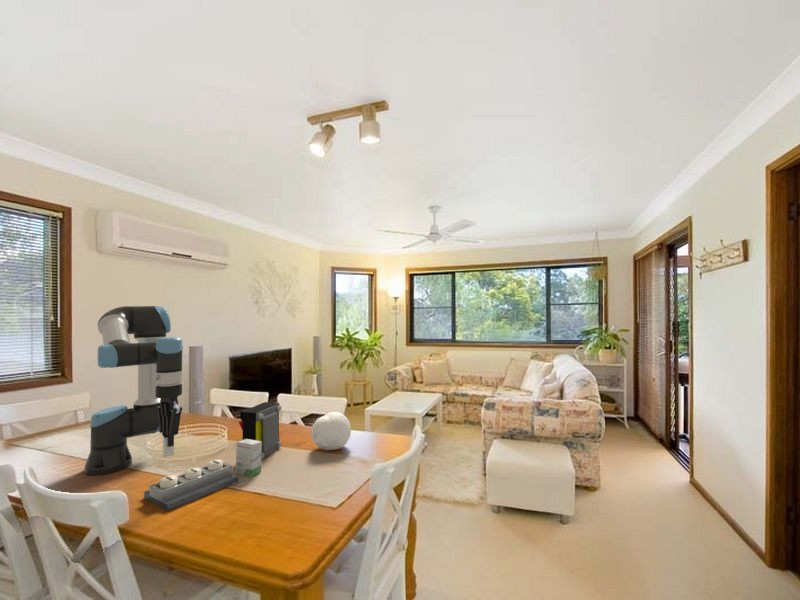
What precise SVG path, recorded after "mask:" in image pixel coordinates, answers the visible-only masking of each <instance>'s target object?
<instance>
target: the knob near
mask: <svg viewBox="0 0 800 600" xmlns="http://www.w3.org/2000/svg"><path fill="white" fill-rule="evenodd" d="M177 476H178V475H173V474H171V475H167V476H164V477H162V478H160V479H159V482H160V489H162V490H165V489H167V488H170V487H173V486H175V485H177V482H178V477H177Z"/></svg>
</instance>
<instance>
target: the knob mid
mask: <svg viewBox="0 0 800 600" xmlns="http://www.w3.org/2000/svg"><path fill="white" fill-rule="evenodd" d="M184 473H185V479H187V480H191V479H194V478H197V477H200V476H201V467H192V468H189V469H186V470H185V472H184Z"/></svg>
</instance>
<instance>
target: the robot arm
mask: <svg viewBox="0 0 800 600" xmlns="http://www.w3.org/2000/svg"><path fill="white" fill-rule="evenodd" d="M97 321H98V322H97V329H98V332H99V333H100V334H101V336H102V343H103V344H101V345H99V346H98V347H97V366H98V368H100V369H104V368H108V369H109V368H111V369H112V368H121V367H123V368H124V367H132V366H137V399H136V400H135V401H134V402H133V407H131V408H128V406H127V405H126V404H125V405H124V404H123V405H116V406H111V407H107V408H103V409H100V410H98V411H96V412H94V413H93V414H92V415H91V417H90V425H89V428H90V450H89V455H88V457H87V459H86V461H85V464H84V470H83V471H84V474H85V475H87V476H100V475H106V474H111V473H114V472H118V471H121V470H124V469H126V468H128V467H130V466H131V465H132V463H133V457H132V454H131V452H130V449H129V446H128V441H127V440H128V438H134V437H140V436H145V435H150V434H156V433H160V434H161V435H162V436H163V437H162V438H163V439H162V446H163V447H162V457H164V458H167V457H171V456H174V455H175V436H176V435H179V429H180V422H181V414H182V411H183V406H179V400H178V397H179V396H182V394H183V384H182V382H183V348H184V347H183V339H182V338H181V337H176V336H172V337H171V336H170V337H167V334H168V333H171V330H172V329H171V326H172V324H171V317H170V314H169V310H168V309H167V308H166V306H161V305H160V306H159V305H157V306H156V305H153V306H152V305H150V306H149V305H145V306H144V305H143V306H141V305H140V306H139V305H135V306H133V305H132V306H130V305H128V306H126V305H125V306H123V305H122V306H119V307H115V308H112V309H109V310H108V311H106V312H105V313H103V315H101V316H100V318H99V320H97ZM129 335H133V339H135V340H136V341H137V342H132V343H131V340H130V336H129Z"/></svg>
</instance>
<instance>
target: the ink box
mask: <svg viewBox="0 0 800 600" xmlns="http://www.w3.org/2000/svg"><path fill="white" fill-rule="evenodd" d="M235 450H236V451H235V452H236V453H235V455H236V456H235V474H237V475H238V474H239V475H242V476H248V477H254V476H256V475H258V474H260V473H262V459H261V451H262V442H261V441H256V440H251V439H244V440H243V439H241V440H239V441H236V449H235Z"/></svg>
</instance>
